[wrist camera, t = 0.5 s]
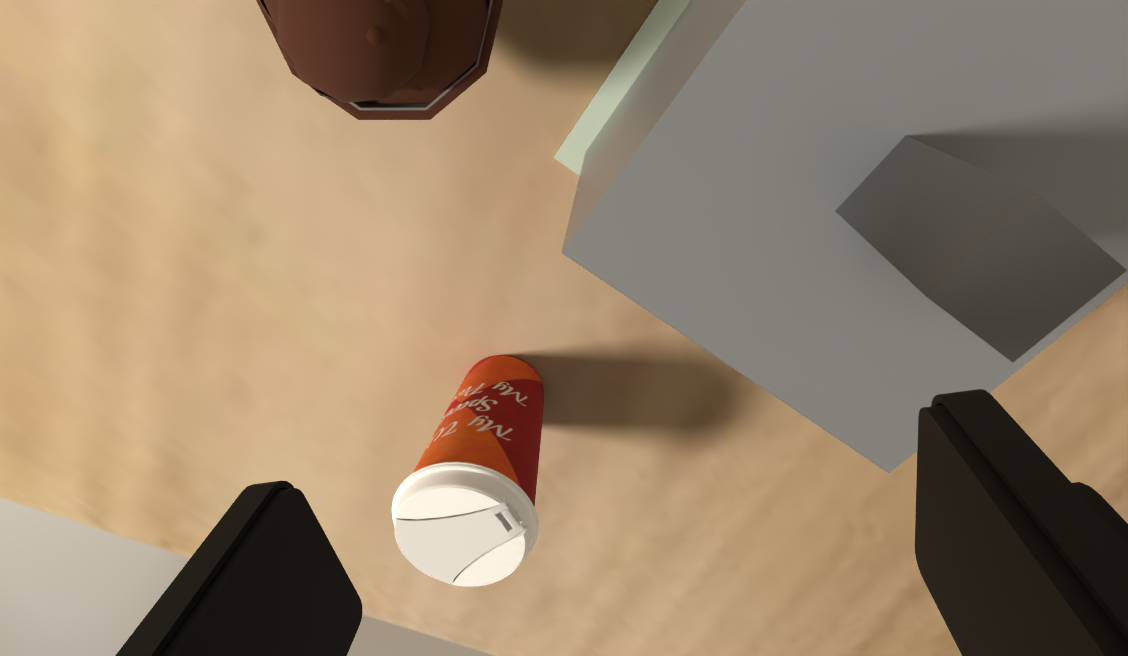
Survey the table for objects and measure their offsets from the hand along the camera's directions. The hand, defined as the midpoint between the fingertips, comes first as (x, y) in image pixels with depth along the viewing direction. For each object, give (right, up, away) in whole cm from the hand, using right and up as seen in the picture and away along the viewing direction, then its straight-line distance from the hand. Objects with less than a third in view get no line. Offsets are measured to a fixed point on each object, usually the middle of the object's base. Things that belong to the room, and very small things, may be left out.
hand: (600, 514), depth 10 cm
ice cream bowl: (-8, +22, +26) cm, 35 cm away
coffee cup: (-5, -2, +38) cm, 38 cm away
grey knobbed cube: (+12, +15, +27) cm, 33 cm away
